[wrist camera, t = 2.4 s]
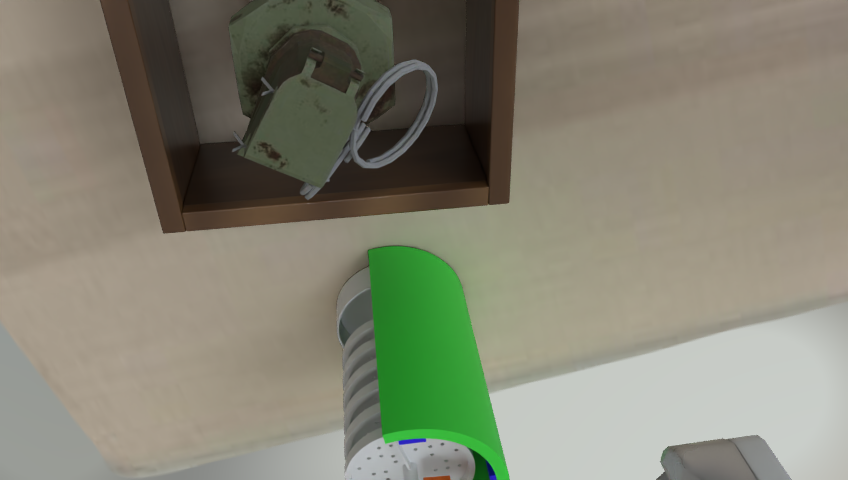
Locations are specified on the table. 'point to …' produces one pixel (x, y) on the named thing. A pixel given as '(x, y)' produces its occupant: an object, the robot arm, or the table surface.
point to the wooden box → (350, 183)
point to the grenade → (318, 84)
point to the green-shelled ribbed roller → (413, 374)
